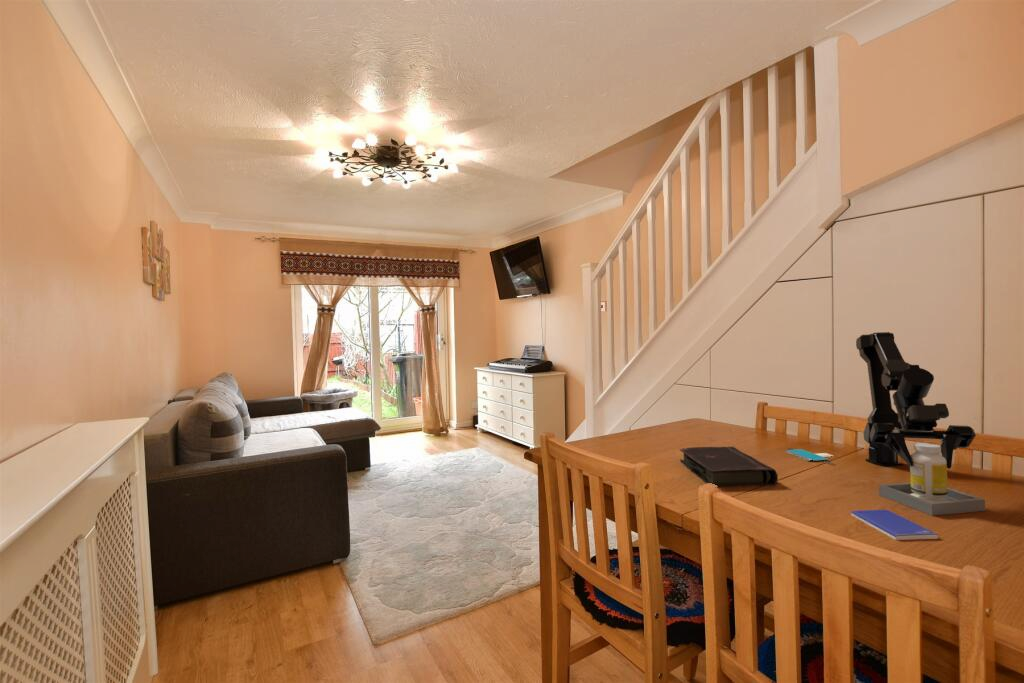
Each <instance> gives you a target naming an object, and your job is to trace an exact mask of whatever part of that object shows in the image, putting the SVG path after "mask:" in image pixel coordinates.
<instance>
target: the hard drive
mask: <svg viewBox="0 0 1024 683" xmlns="http://www.w3.org/2000/svg"><path fill="white" fill-rule="evenodd" d="M850 515H851V516H852V517H854V518H856V519H858V520H859V521H862V522H863V523H864V524H866V525H868V526H870V527H872V528H873V529H876V530H877V531H878V532H881V533H883V534H885V535H886V536H888V537H889V538H891V539H893V540H895V541H900V540H901V541H902V540H905V541H907V540H928V539H929V540H931V539H932V540H934V539H935V540H936V539H939V536H938V533H936V532H934V531H932V530H930V529H928V528H926V527H923V526H921V525H920V524H918V523H915V522H914V521H911V520H910V519H908V518H905V517H903V516H901V515H899V514H897V513H895V512H893V511H891V510H889V509H872V510H871V509H866V510H852V511H851V512H850Z"/></svg>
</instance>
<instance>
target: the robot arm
mask: <svg viewBox="0 0 1024 683" xmlns="http://www.w3.org/2000/svg"><path fill="white" fill-rule="evenodd" d="M855 346H856V350H858V353H859V356H860V358H861V359H862V360H863V361H864V362H865V363H866V366H867V373H868V382H869V387H870V388H869V389H870V396H871V405H872V410H871V412H870V413H869V415H868V417H867V422H866V424H865V426H864V430H863V439H864V441H865V442H866V443H867V444H869V446H868V458H865V461H866V462H870V463H872V464H875V465H879V466H883V467H888V466H889V467H891V466H900V465H904V463H903V462H902V461H899V457H900V458H901V459H902V460H903V461H904V462H905V463H906V464H907V465H908V466H909V467H910V466H912V465H913V462H912V458H911V456H910V455H911V453H910V451H909V449H908V447H907V446H908V445H907V443H906V440H905V439H919V440H939V441H940V443H941V444H940V446H941V452H940V453H941V454H940V455H941V456H943V457H944V458H945V459H946V461H947V470H948V469H951V468H952V463H953V457H954V456H953V454H954V451H955V450H957V448H958V449H959V448H961V449H962V448H965V449H966V448H969V447H970V445H971V444H972V442H973V441H974V439H975V437H976V436H977V435H976V432H975V430H974V429H973V428H972V427H971V426H970V425H954V424H950V425H949V426H948V427H947V429H946V430H934V428H937V427H938V423H937V421H940V420H941V419H946V418H948V417H949V416H950V412H949V408H948V406H947V404H946V403H935V404H933V405H932V404H929V405H928V404H925V402H924V398H926V397H927V395H928V394H929V391H930V389H931V388H932V384H933V383H934V380H935V377H934V374H933V373H931V372H930V371H929V370H926V369H925V368H921V367H920V365H919V364H912V363H911V364H910V363H909V362H906V361H905V360H904V358H903V355H902V354H901V351H900V350H899V348H898V344H897V343H896V341H895V335H894V333H893V332H889V331H882V332H881V331H880V332H878V331H877V332H873V333H869V334H861V335H860V336H859V337H858V338H856V341H855ZM892 391H893V392H894V391H895V392H894V393H893V394H892V399H891V393H890V392H892ZM892 400H893V405H892ZM893 406H895V409H896V411H895V410H894V409H893Z"/></svg>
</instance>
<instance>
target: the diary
mask: <svg viewBox="0 0 1024 683" xmlns="http://www.w3.org/2000/svg"><path fill="white" fill-rule="evenodd" d="M679 451H680V452H681V453H683V459H679V461H680V463H681V464H683V466H684V467H685V468H687V469H688V470H690V471H691V472H692V473H693V474H695V476H696V477H698V478H699V479H700V480H702V482H704V483H705V484H706V483H712V484H715V485H717V486H718V487H717V488H732V487H733V488H735V487H736V488H737V487H763V486H764V487H765V486H776V485H777V482H778V481H779V480H778V478H779V476H778V475H779V474H778V473H777V471H776V469H774V468H773V467H770V466H769V465H767V464H765V463H763V462H760V461H759V460H758V459H756V458H754V457H753V456H751V455H749V454H746V453H745V452H742V451H741V450H739V449H738V448H736V447H735V446H693V447H686V448H685V447H684V448H679Z"/></svg>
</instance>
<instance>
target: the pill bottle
mask: <svg viewBox="0 0 1024 683" xmlns="http://www.w3.org/2000/svg"><path fill="white" fill-rule="evenodd" d="M913 449H914V450H915V452H912V453H910V456H911V458H912V462H913V465H912V466H909V477H910V478H909V479H910V483H911V490H912V492H914V493H916V494H918V495H921V496H926V497H932V498H943V497H946V496H947V495H948V488H949V487H948V468H947V461H946V459H945V458H944V457H943V456H942V454H940V453H941V444H937V443H934V442H925V441H924V442H923V441H921V442H920V441H919V442H914V443H913Z"/></svg>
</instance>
